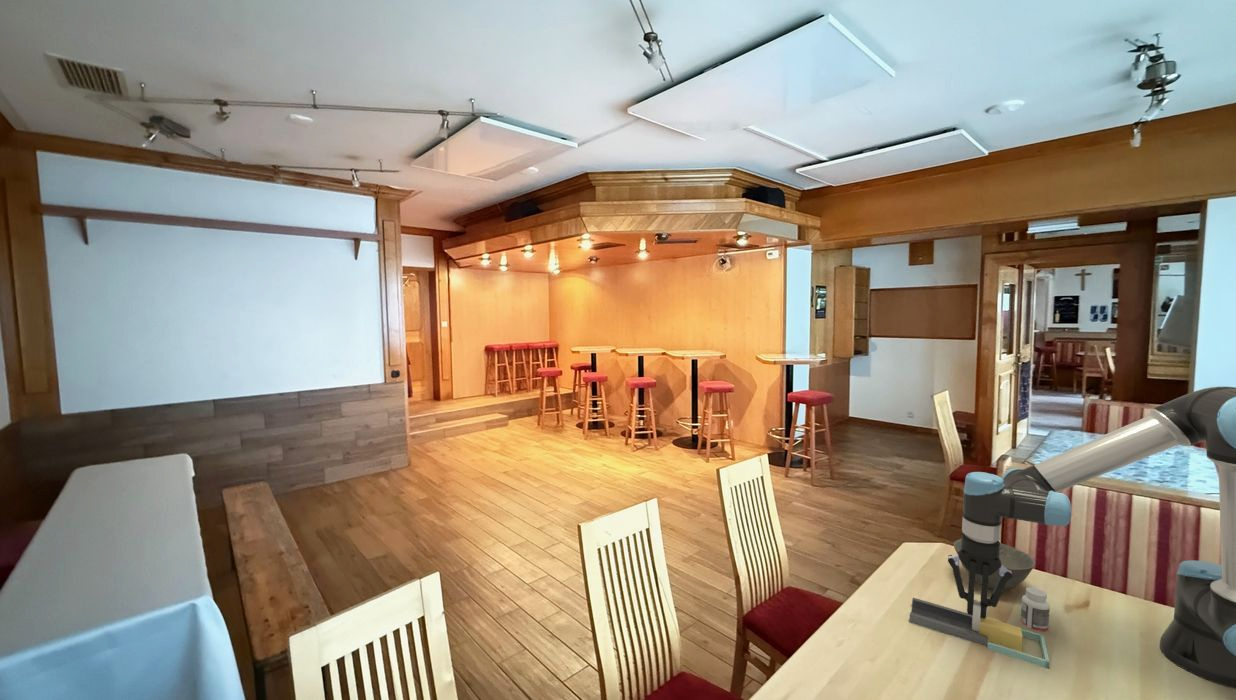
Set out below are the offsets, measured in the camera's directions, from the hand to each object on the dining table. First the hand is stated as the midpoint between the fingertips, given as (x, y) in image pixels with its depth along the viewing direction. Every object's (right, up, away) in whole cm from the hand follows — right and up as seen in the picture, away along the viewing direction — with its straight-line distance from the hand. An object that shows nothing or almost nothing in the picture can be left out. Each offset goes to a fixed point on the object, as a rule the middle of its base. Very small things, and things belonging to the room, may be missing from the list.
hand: (975, 627), depth 120 cm
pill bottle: (+17, -2, +3) cm, 18 cm away
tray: (+6, -3, -4) cm, 8 cm away
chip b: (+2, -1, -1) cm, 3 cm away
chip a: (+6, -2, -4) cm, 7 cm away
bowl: (+21, 0, +22) cm, 31 cm away
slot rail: (-5, -2, +4) cm, 6 cm away
